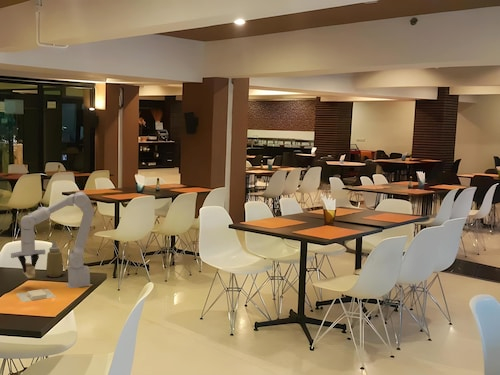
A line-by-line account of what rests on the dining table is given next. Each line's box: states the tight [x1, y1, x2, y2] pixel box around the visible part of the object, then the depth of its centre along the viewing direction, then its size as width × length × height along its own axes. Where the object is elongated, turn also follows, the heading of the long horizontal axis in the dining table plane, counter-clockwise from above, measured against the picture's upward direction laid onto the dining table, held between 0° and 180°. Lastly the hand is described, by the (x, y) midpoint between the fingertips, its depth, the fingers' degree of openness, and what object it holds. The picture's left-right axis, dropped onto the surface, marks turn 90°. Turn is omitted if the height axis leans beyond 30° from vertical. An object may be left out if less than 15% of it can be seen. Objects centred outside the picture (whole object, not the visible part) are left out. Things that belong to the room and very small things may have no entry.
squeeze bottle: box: [46, 239, 64, 278], centre depth 277 cm, size 8×8×18 cm
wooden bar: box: [22, 262, 36, 279], centre depth 254 cm, size 3×10×4 cm, turn 35°
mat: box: [15, 288, 57, 303], centre depth 246 cm, size 14×14×1 cm
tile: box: [26, 288, 48, 301], centre depth 243 cm, size 6×2×9 cm
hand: (28, 271), depth 254 cm, fingers closed on wooden bar, 3 cm apart
